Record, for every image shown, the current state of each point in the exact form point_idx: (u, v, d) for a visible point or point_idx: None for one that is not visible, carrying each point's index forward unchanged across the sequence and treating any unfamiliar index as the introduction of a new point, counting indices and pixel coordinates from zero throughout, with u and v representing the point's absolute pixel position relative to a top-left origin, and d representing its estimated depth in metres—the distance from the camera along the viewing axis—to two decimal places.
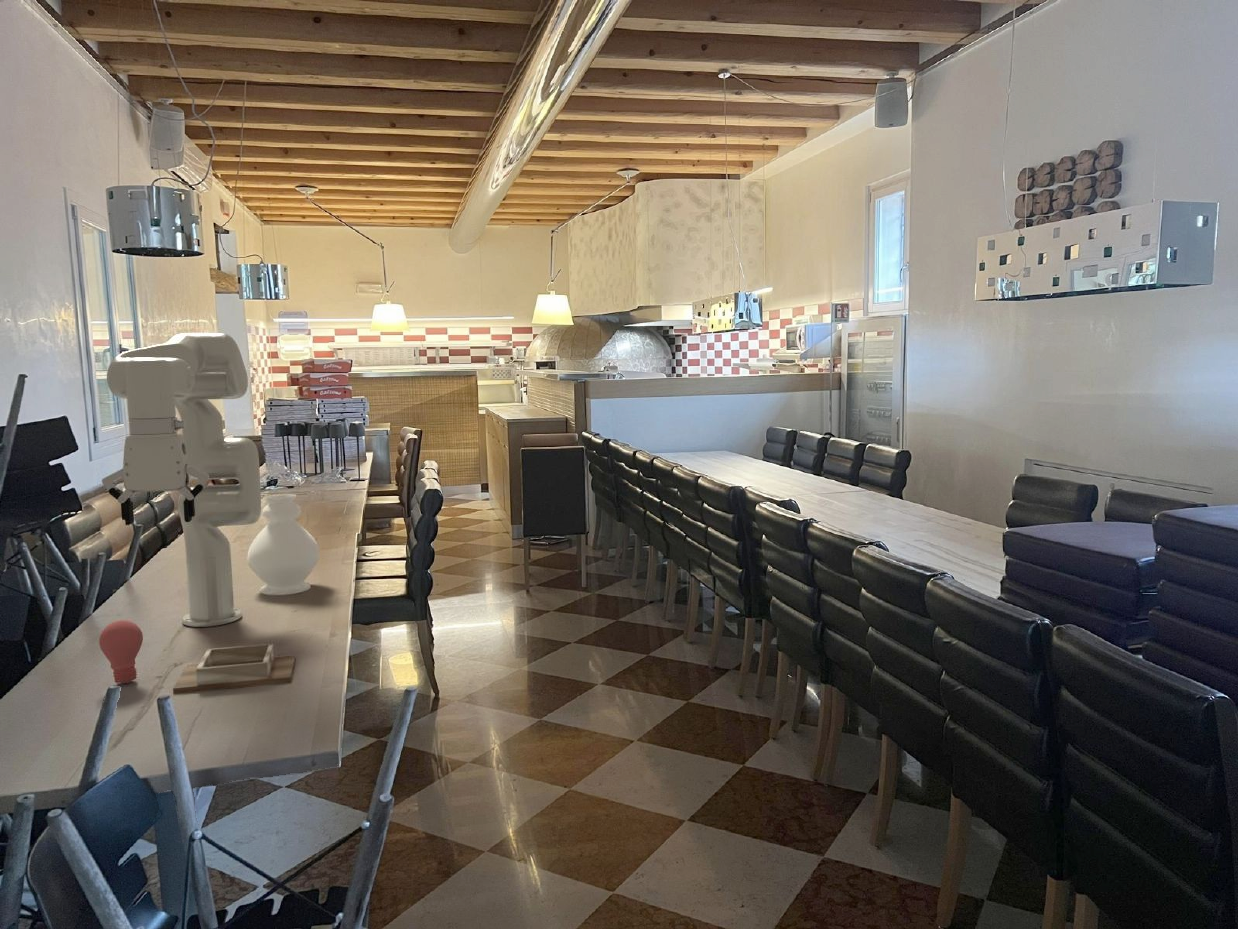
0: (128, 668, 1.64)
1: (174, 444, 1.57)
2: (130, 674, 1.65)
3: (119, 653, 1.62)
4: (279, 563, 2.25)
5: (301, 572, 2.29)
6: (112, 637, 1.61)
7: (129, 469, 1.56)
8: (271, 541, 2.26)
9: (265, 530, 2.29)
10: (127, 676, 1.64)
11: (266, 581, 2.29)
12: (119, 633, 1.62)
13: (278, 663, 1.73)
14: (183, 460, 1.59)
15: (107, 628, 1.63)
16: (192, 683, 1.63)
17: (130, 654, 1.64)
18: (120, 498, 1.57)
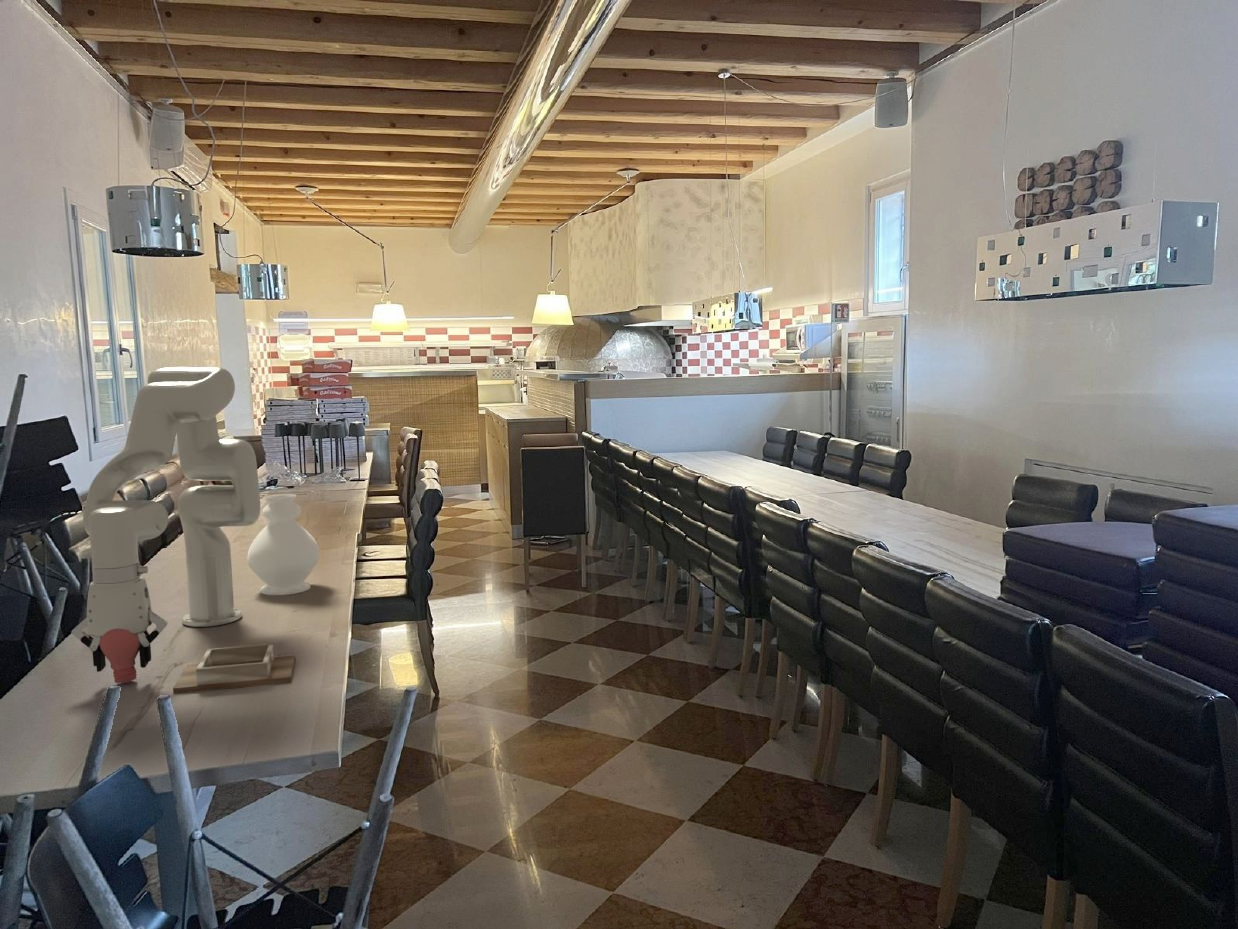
0: (128, 668, 1.64)
1: (136, 590, 1.63)
2: (130, 674, 1.65)
3: (119, 653, 1.62)
4: (279, 563, 2.25)
5: (301, 572, 2.29)
6: (113, 637, 1.61)
7: (93, 616, 1.61)
8: (272, 541, 2.26)
9: (265, 530, 2.29)
10: (127, 676, 1.64)
11: (266, 581, 2.29)
12: (119, 633, 1.62)
13: (278, 663, 1.73)
14: (145, 604, 1.64)
15: None
16: (192, 683, 1.63)
17: (130, 654, 1.64)
18: (92, 646, 1.63)
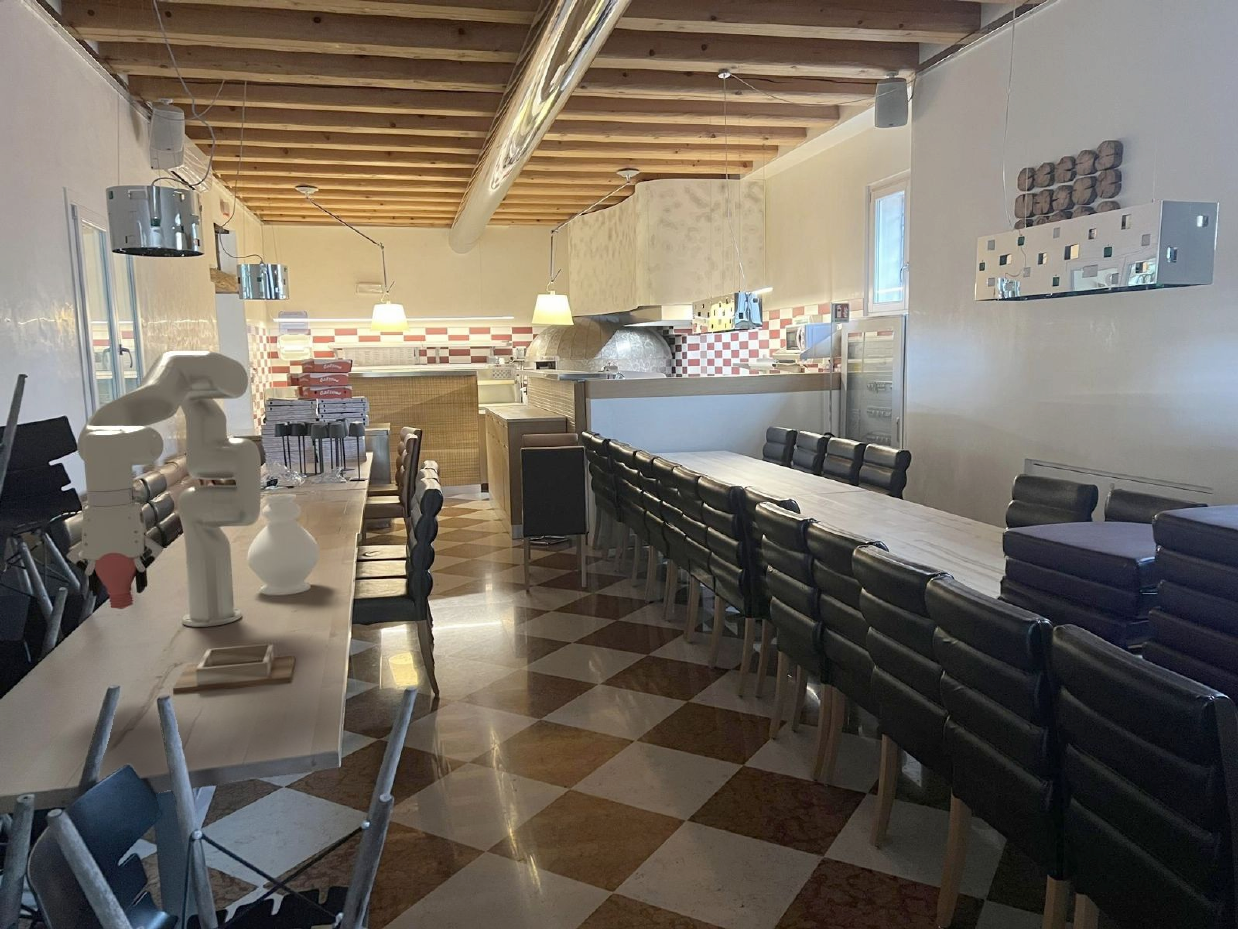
0: (124, 593, 1.63)
1: (132, 514, 1.61)
2: (126, 599, 1.64)
3: (114, 577, 1.61)
4: (279, 563, 2.25)
5: (301, 572, 2.29)
6: (108, 561, 1.60)
7: (88, 539, 1.60)
8: (271, 541, 2.26)
9: (265, 530, 2.29)
10: (123, 601, 1.63)
11: (266, 581, 2.29)
12: (115, 557, 1.61)
13: (278, 663, 1.73)
14: (141, 529, 1.63)
15: None
16: (192, 683, 1.63)
17: (126, 579, 1.62)
18: (87, 570, 1.61)
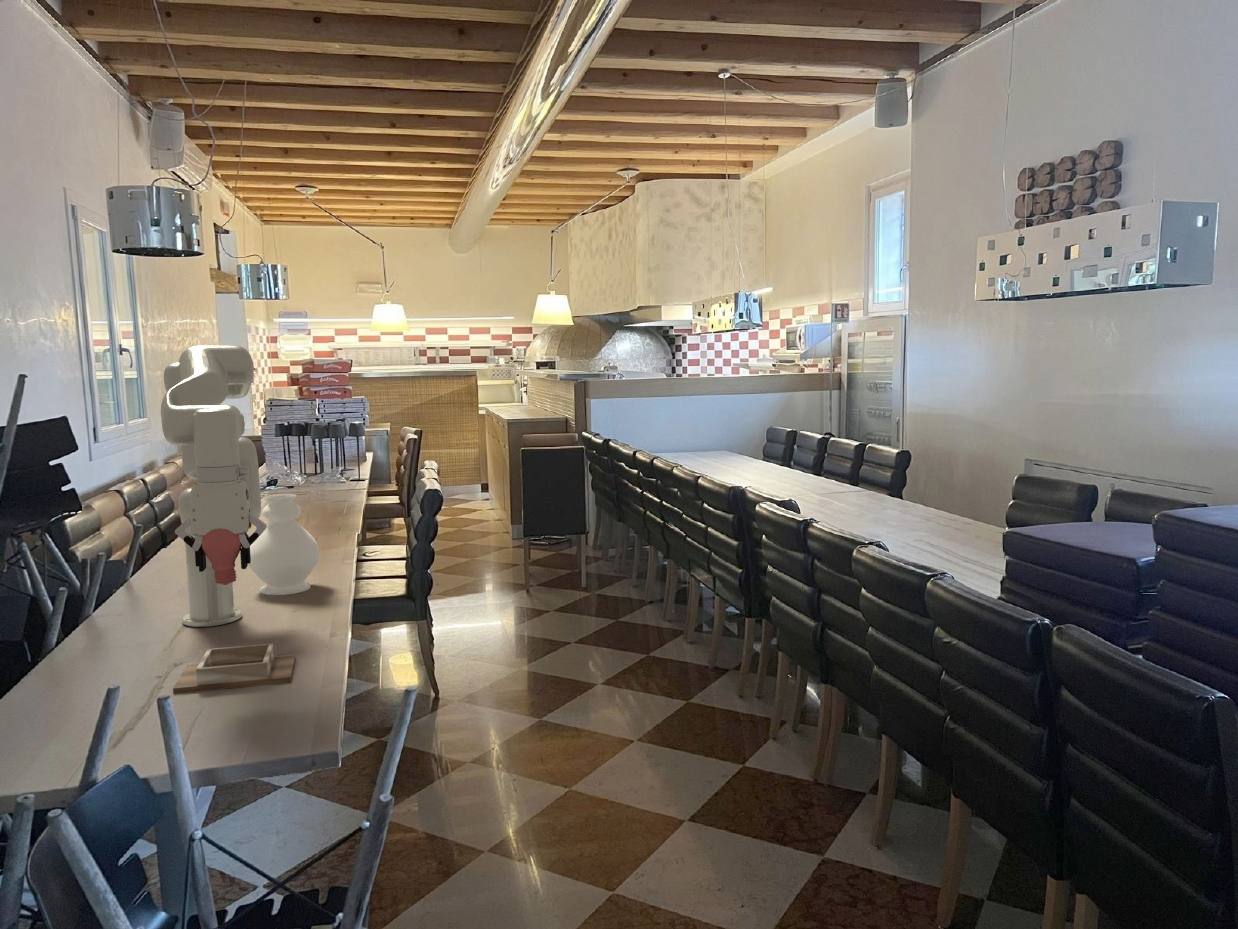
0: (229, 569, 1.65)
1: (238, 491, 1.63)
2: (231, 575, 1.65)
3: (221, 553, 1.63)
4: (279, 563, 2.25)
5: (301, 572, 2.29)
6: (215, 537, 1.62)
7: (196, 515, 1.62)
8: (272, 541, 2.26)
9: (265, 530, 2.29)
10: (228, 577, 1.65)
11: (266, 581, 2.29)
12: (221, 533, 1.63)
13: (278, 663, 1.73)
14: (247, 506, 1.65)
15: None
16: (192, 683, 1.63)
17: (231, 555, 1.64)
18: (194, 546, 1.63)
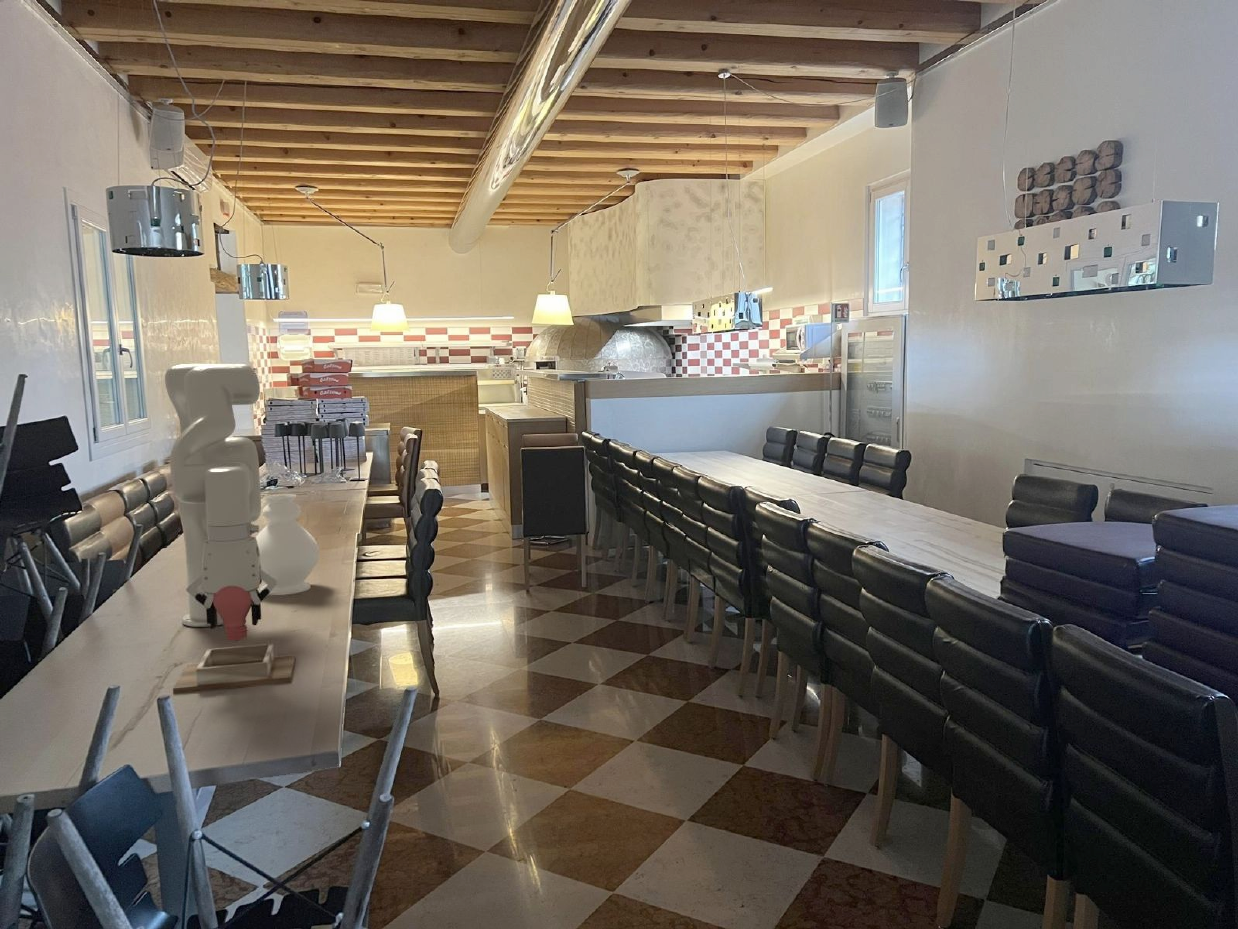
0: (240, 626, 1.67)
1: (250, 548, 1.65)
2: (242, 632, 1.67)
3: (233, 610, 1.65)
4: (279, 563, 2.25)
5: (301, 572, 2.29)
6: (227, 595, 1.64)
7: (208, 573, 1.64)
8: (272, 541, 2.26)
9: (265, 530, 2.29)
10: (239, 633, 1.67)
11: None
12: (233, 590, 1.65)
13: (278, 663, 1.73)
14: (257, 563, 1.67)
15: None
16: (192, 683, 1.63)
17: (243, 611, 1.66)
18: (206, 604, 1.65)
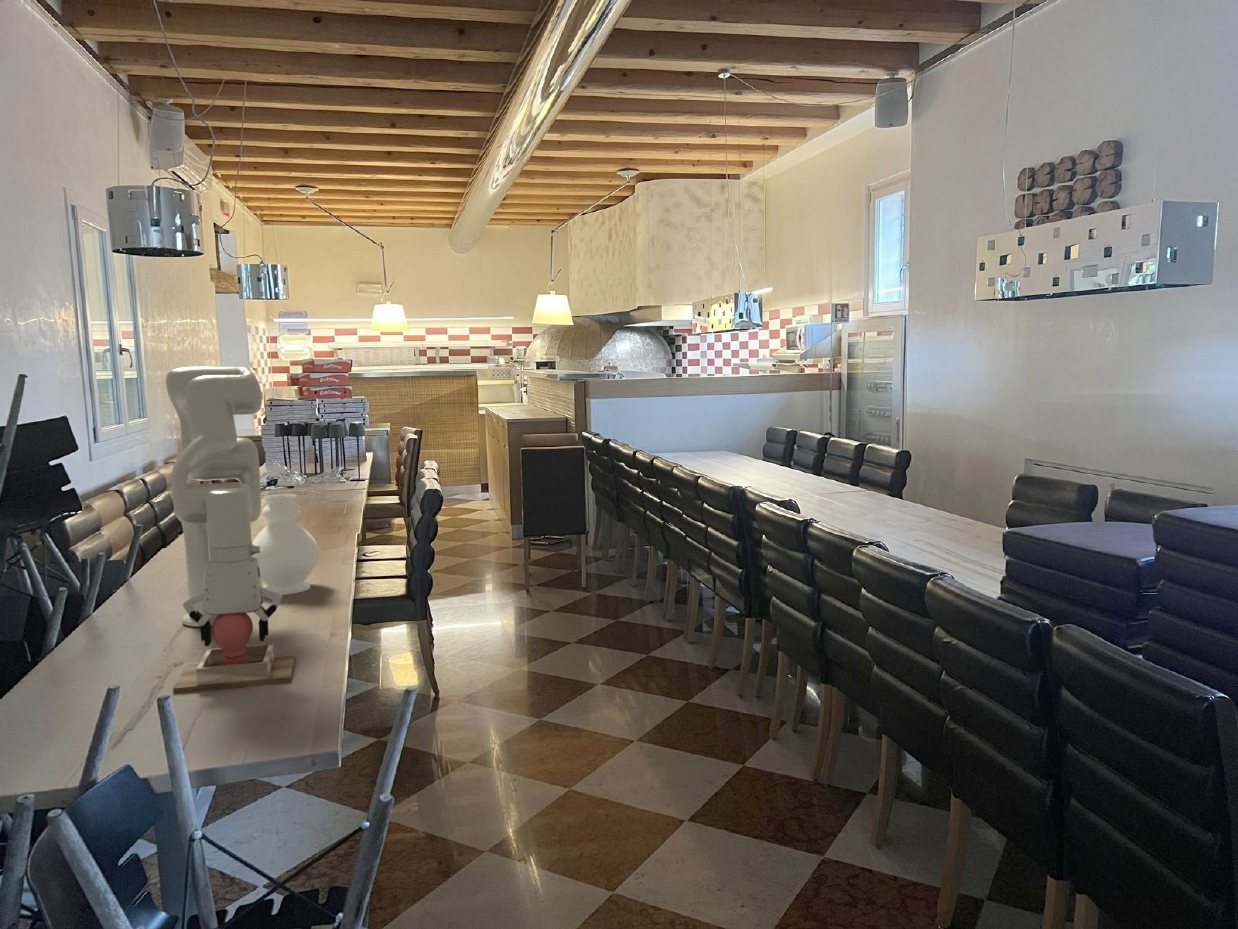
0: (240, 656, 1.68)
1: (251, 569, 1.66)
2: (241, 662, 1.68)
3: (232, 641, 1.66)
4: (279, 563, 2.25)
5: (301, 572, 2.29)
6: (226, 626, 1.65)
7: (209, 594, 1.64)
8: (272, 541, 2.26)
9: (265, 530, 2.29)
10: None
11: (266, 581, 2.29)
12: (232, 621, 1.65)
13: (278, 663, 1.73)
14: (259, 583, 1.67)
15: (220, 617, 1.66)
16: (192, 683, 1.63)
17: (242, 642, 1.67)
18: (200, 621, 1.65)
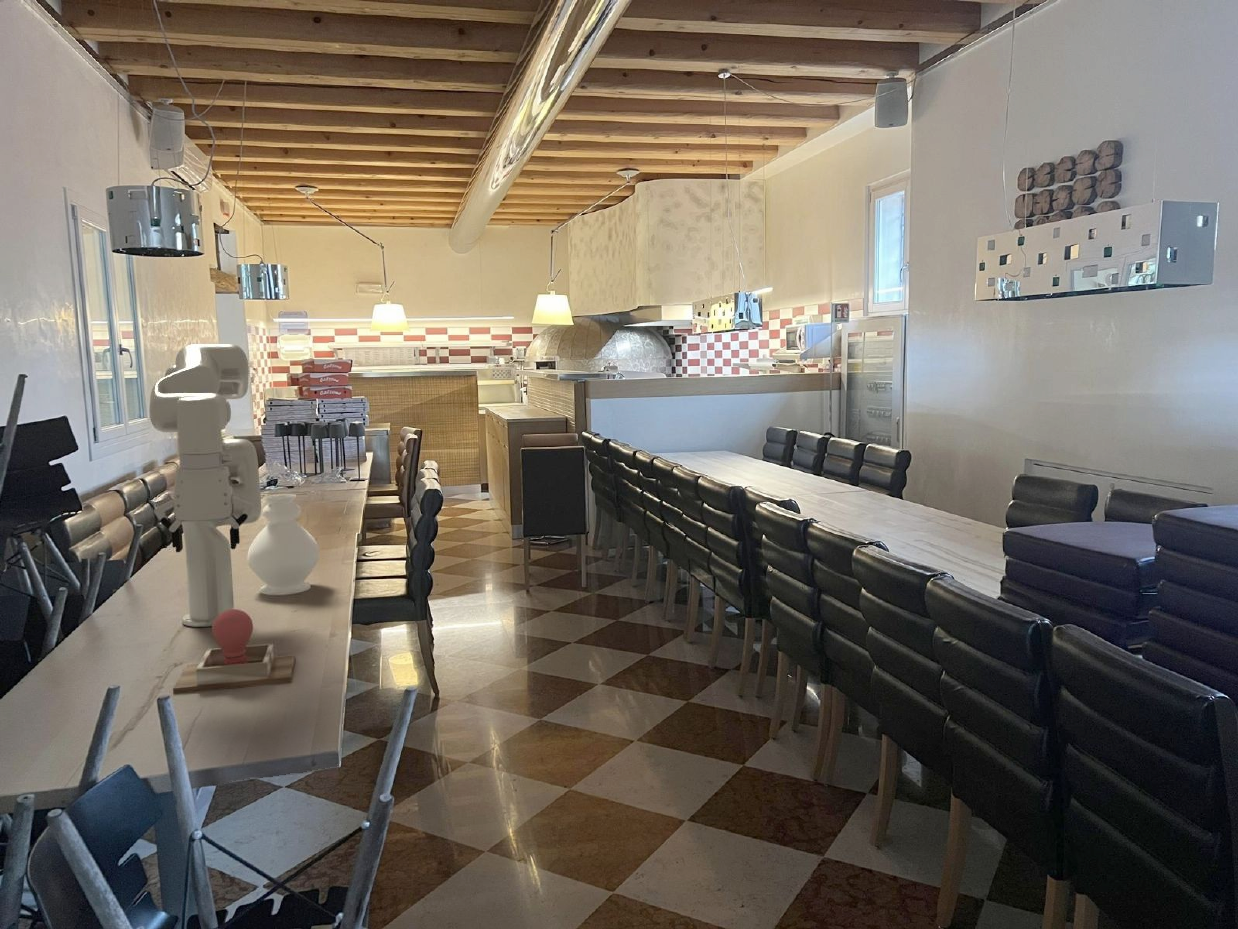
0: (240, 656, 1.68)
1: (222, 477, 1.68)
2: (241, 662, 1.68)
3: (232, 641, 1.66)
4: (279, 563, 2.25)
5: (301, 572, 2.29)
6: (226, 626, 1.65)
7: (180, 501, 1.66)
8: (271, 541, 2.26)
9: (265, 530, 2.29)
10: None
11: (266, 581, 2.29)
12: (233, 621, 1.65)
13: (278, 663, 1.73)
14: (229, 492, 1.69)
15: (220, 617, 1.66)
16: (192, 683, 1.63)
17: (242, 642, 1.67)
18: (171, 527, 1.67)
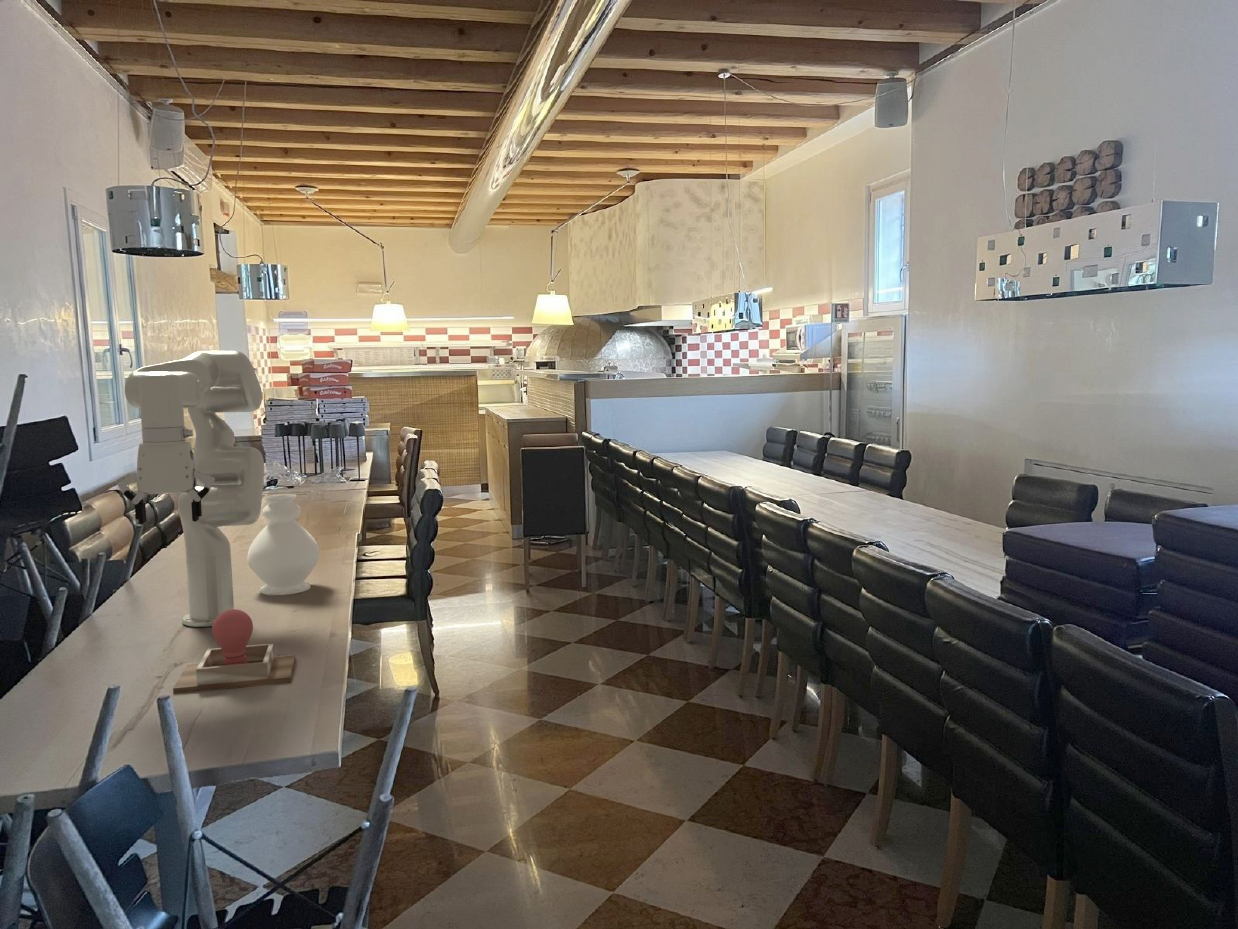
0: (240, 656, 1.68)
1: (183, 451, 1.73)
2: (241, 662, 1.68)
3: (232, 641, 1.66)
4: (279, 563, 2.25)
5: (301, 572, 2.29)
6: (227, 626, 1.65)
7: (142, 473, 1.72)
8: (272, 541, 2.26)
9: (265, 530, 2.29)
10: None
11: (266, 581, 2.29)
12: (233, 621, 1.65)
13: (278, 663, 1.73)
14: (191, 465, 1.75)
15: (220, 617, 1.66)
16: (192, 683, 1.63)
17: (242, 642, 1.67)
18: (134, 500, 1.73)
